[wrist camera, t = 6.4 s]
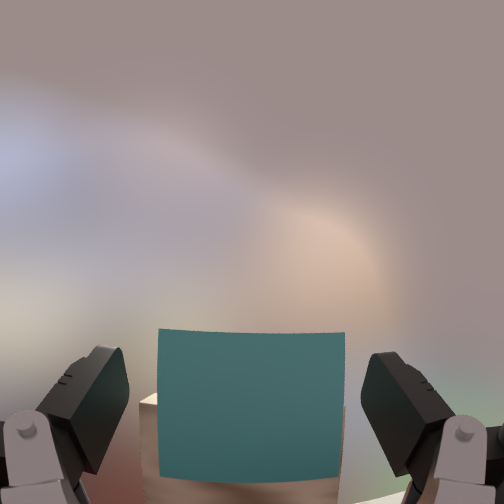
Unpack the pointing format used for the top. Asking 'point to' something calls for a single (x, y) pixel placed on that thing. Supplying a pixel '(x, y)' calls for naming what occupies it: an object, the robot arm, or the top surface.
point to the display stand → (216, 493)
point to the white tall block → (387, 499)
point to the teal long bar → (249, 406)
